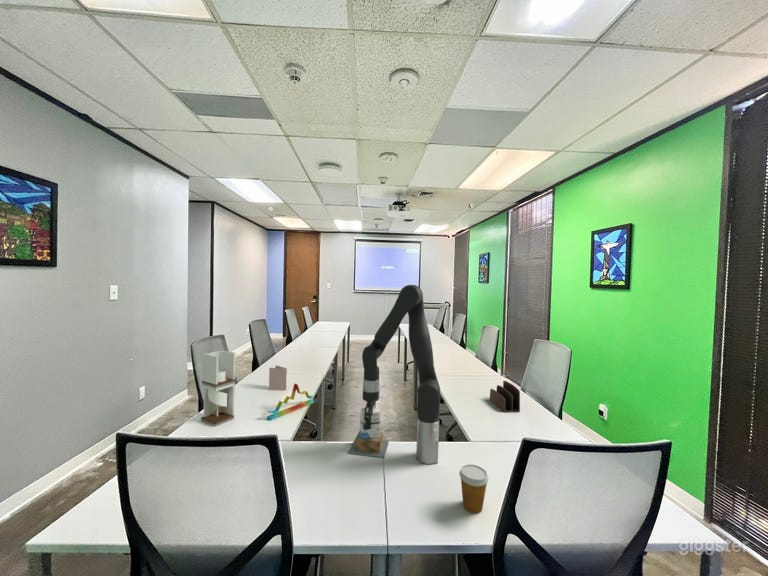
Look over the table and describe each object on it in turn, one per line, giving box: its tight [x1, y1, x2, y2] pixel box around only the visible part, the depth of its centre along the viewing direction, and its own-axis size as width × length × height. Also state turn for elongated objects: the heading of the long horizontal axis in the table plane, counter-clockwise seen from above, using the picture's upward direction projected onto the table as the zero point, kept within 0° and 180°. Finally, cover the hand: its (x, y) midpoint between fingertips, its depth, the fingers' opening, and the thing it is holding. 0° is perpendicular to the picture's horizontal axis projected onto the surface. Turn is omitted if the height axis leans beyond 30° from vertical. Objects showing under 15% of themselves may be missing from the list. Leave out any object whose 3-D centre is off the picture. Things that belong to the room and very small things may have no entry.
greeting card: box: [268, 364, 288, 391], centre depth 210 cm, size 11×7×15 cm, turn 58°
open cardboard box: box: [355, 430, 384, 453], centre depth 141 cm, size 11×8×5 cm
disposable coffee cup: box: [458, 463, 490, 514], centre depth 105 cm, size 10×10×12 cm
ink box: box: [359, 407, 381, 439], centre depth 140 cm, size 8×5×12 cm, turn 101°
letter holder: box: [489, 380, 521, 413], centre depth 195 cm, size 10×20×14 cm, turn 6°
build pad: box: [347, 437, 390, 459], centre depth 141 cm, size 16×14×1 cm
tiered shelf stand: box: [200, 350, 237, 427], centre depth 163 cm, size 11×11×35 cm
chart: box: [266, 383, 315, 421], centre depth 177 cm, size 30×3×15 cm, turn 146°
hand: (369, 424), depth 140 cm, fingers open, 7 cm apart
